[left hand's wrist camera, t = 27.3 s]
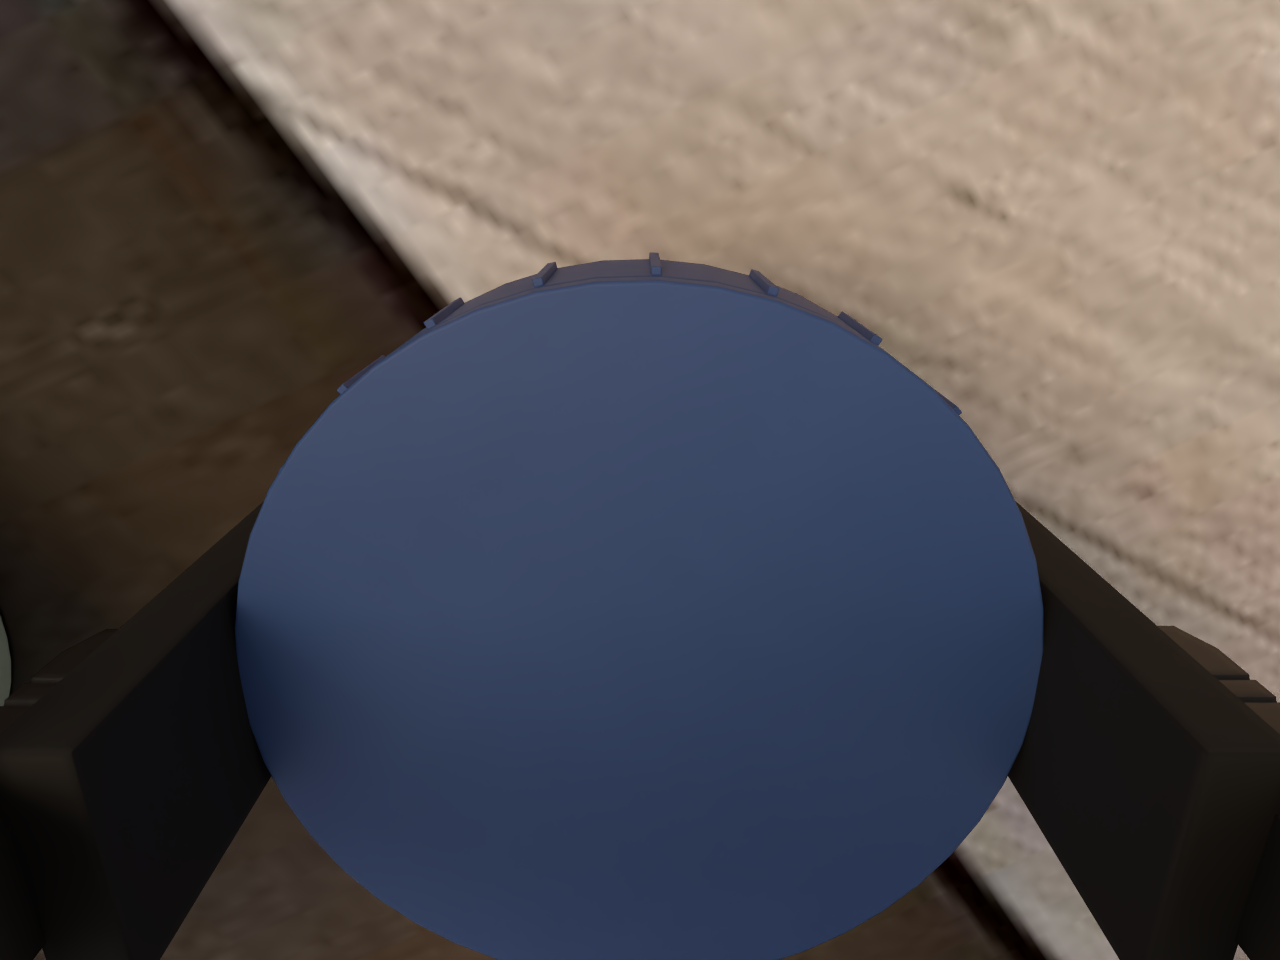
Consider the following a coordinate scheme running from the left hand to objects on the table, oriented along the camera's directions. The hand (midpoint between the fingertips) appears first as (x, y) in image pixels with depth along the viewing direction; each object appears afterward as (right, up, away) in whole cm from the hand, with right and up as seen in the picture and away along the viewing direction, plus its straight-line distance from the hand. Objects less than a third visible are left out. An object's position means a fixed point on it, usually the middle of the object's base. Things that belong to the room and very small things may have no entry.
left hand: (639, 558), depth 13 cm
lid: (0, -1, -3) cm, 3 cm away
